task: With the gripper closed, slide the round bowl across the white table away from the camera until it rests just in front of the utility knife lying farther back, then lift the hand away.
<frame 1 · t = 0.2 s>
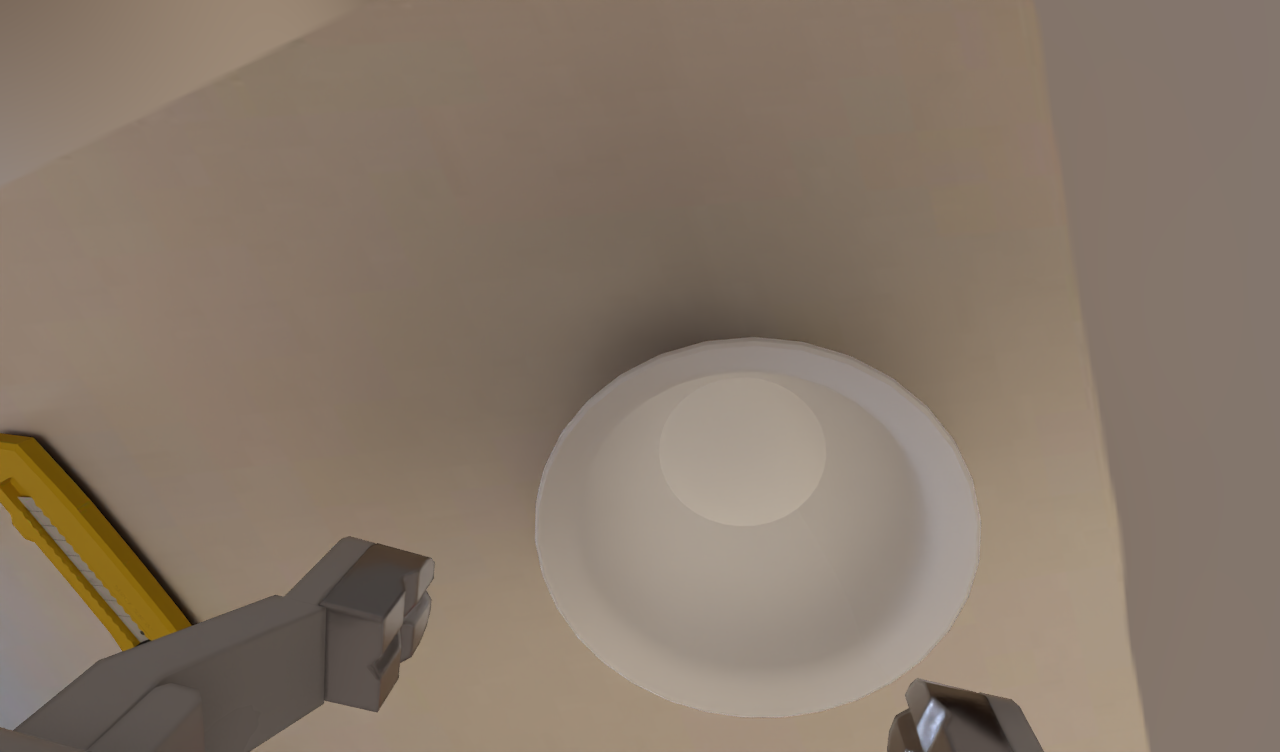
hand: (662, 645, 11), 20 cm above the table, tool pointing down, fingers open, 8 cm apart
utility knife: (124, 586, 39), on the table
bowl: (740, 445, 31), on the table
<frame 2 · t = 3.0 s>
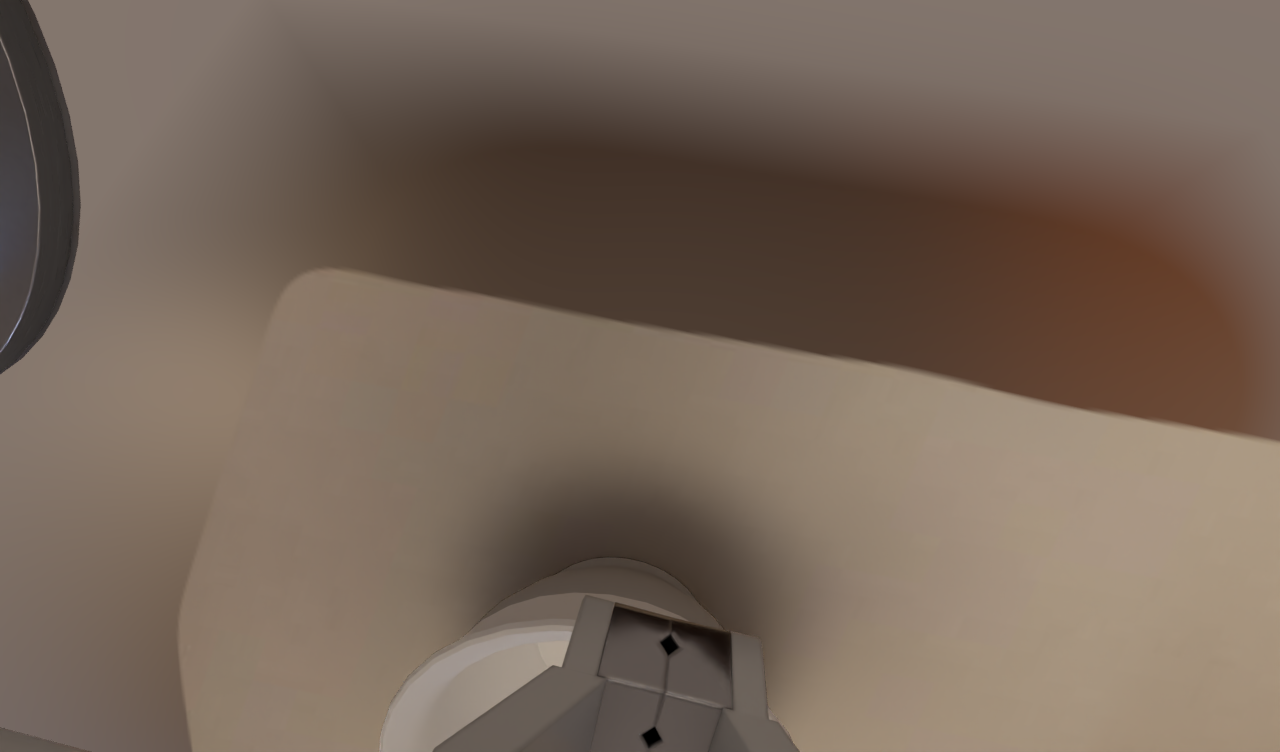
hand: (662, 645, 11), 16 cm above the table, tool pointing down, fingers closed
bowl: (619, 628, 31), on the table
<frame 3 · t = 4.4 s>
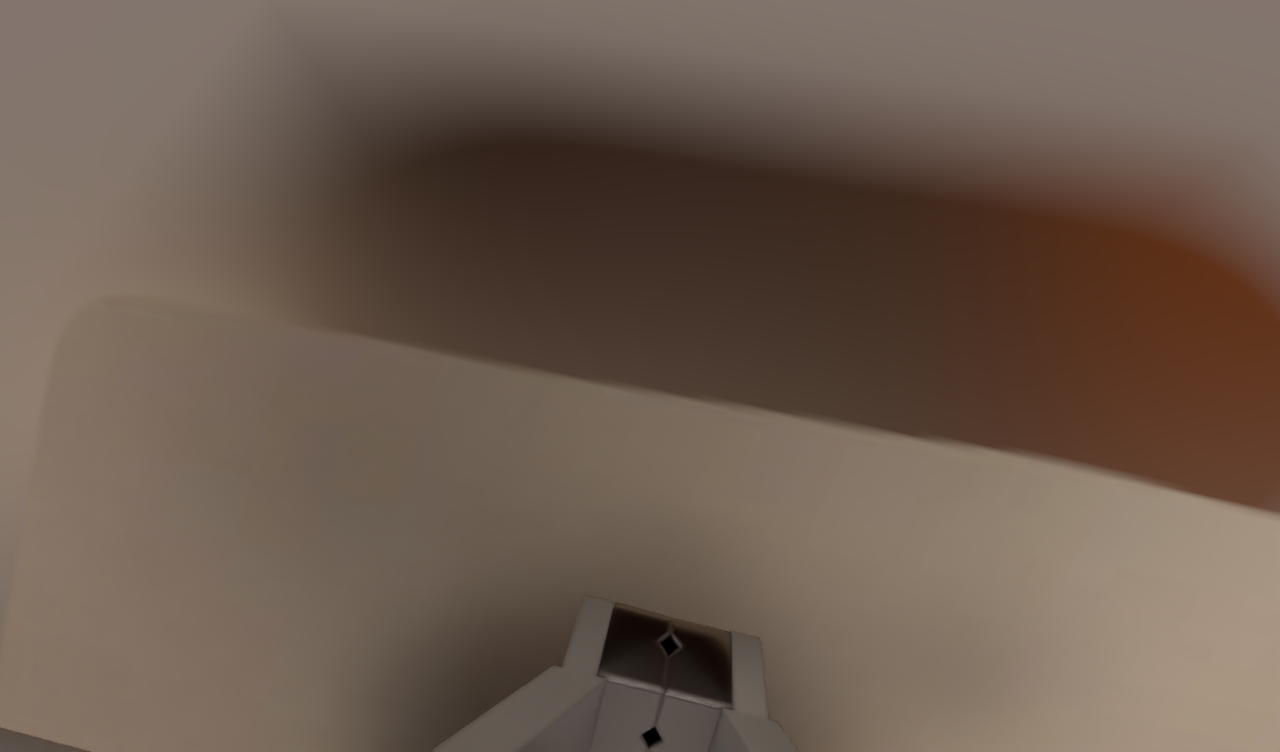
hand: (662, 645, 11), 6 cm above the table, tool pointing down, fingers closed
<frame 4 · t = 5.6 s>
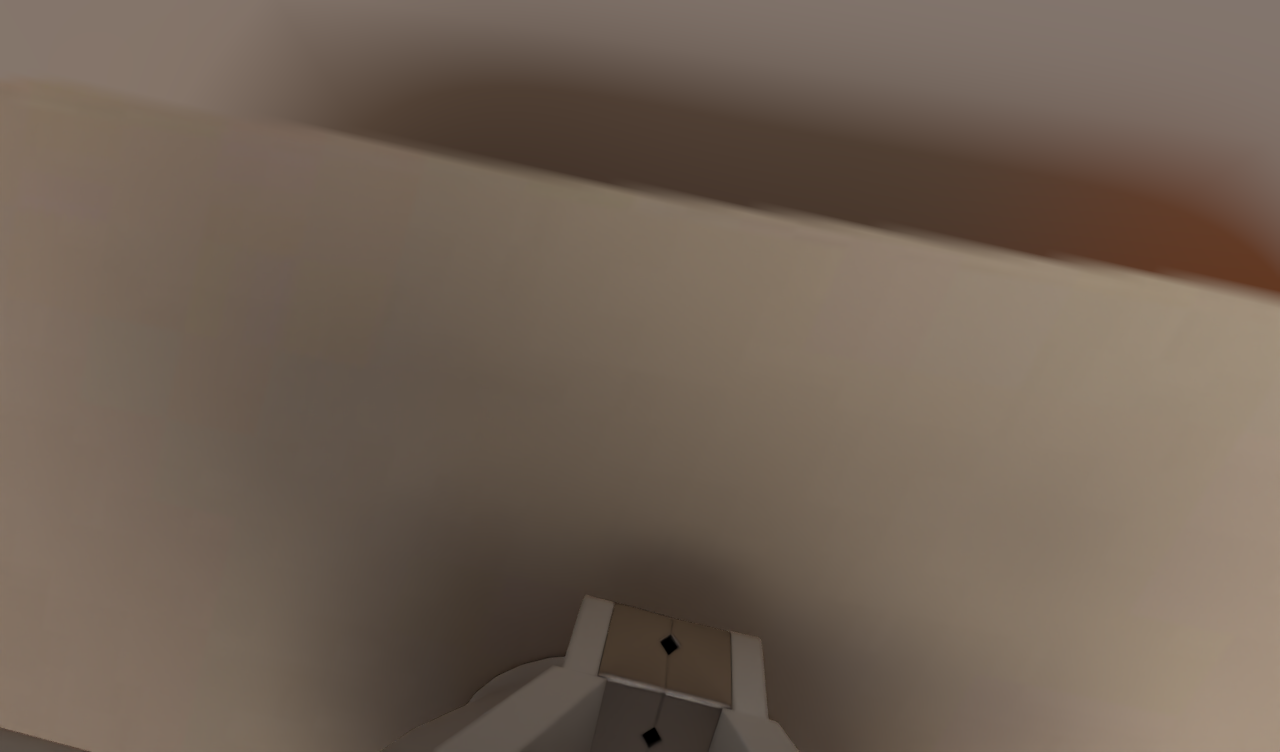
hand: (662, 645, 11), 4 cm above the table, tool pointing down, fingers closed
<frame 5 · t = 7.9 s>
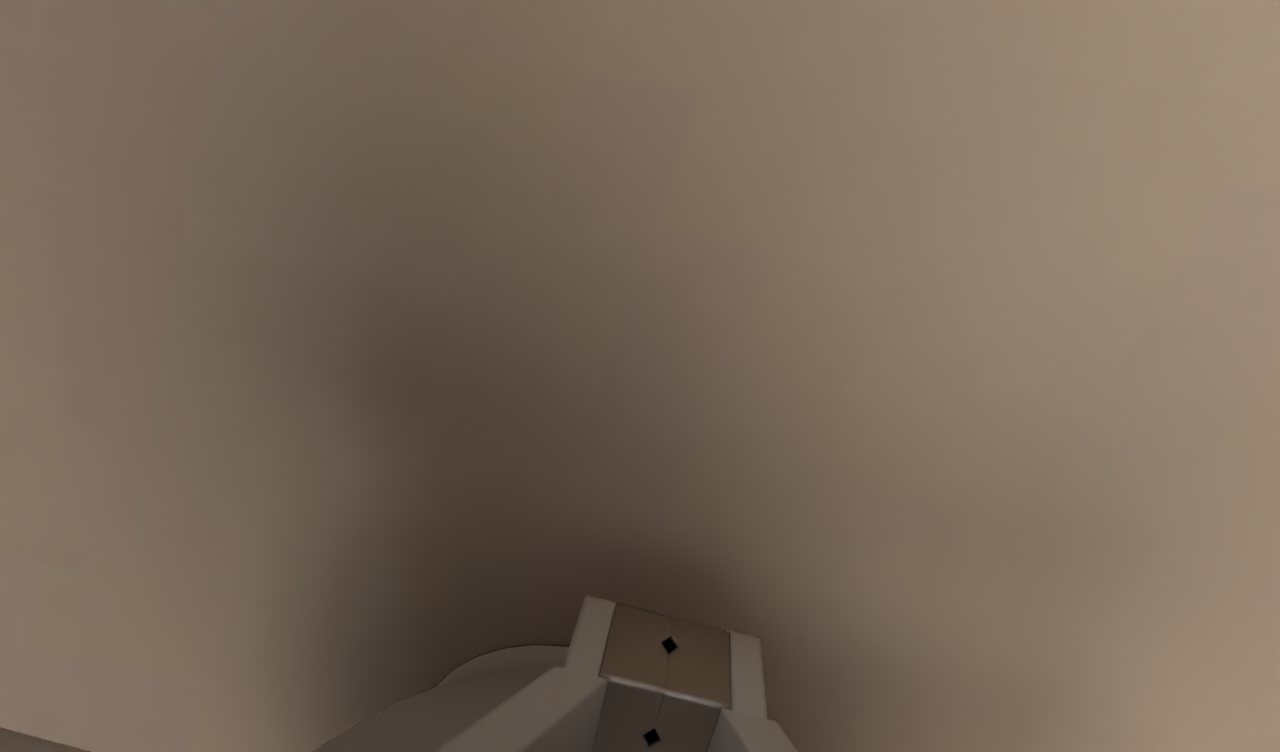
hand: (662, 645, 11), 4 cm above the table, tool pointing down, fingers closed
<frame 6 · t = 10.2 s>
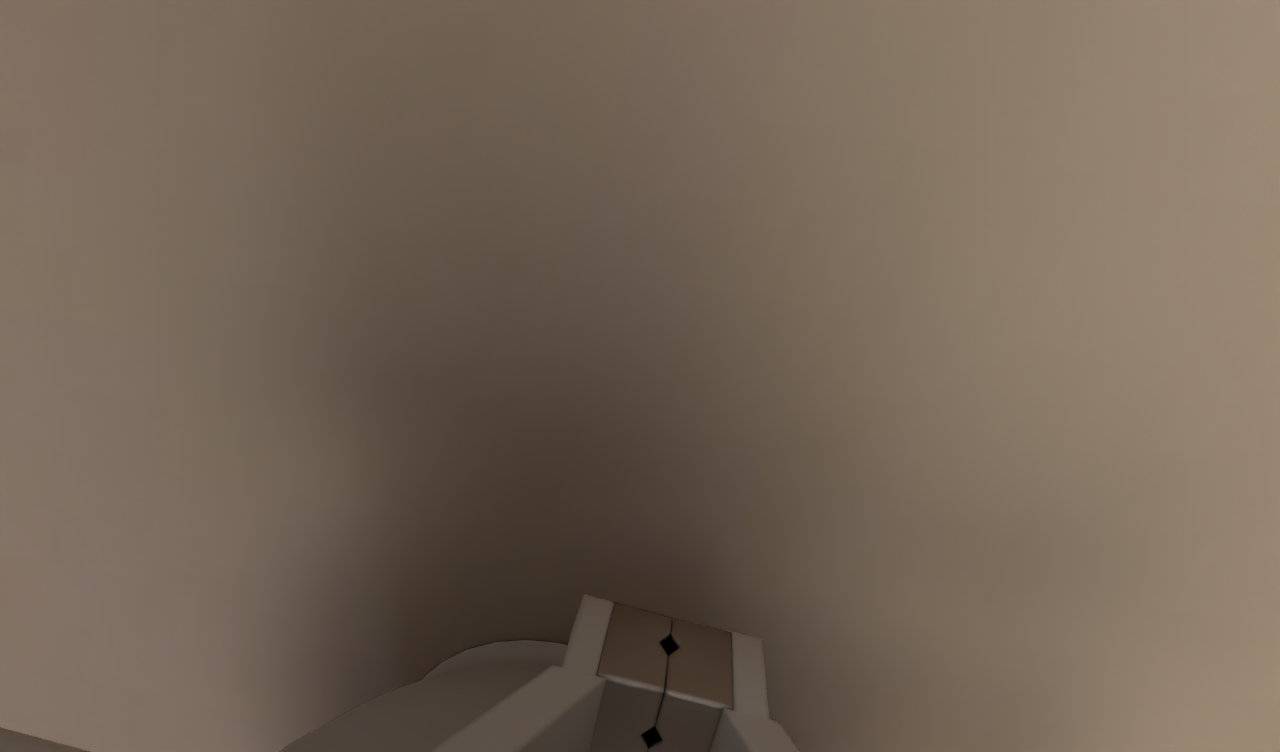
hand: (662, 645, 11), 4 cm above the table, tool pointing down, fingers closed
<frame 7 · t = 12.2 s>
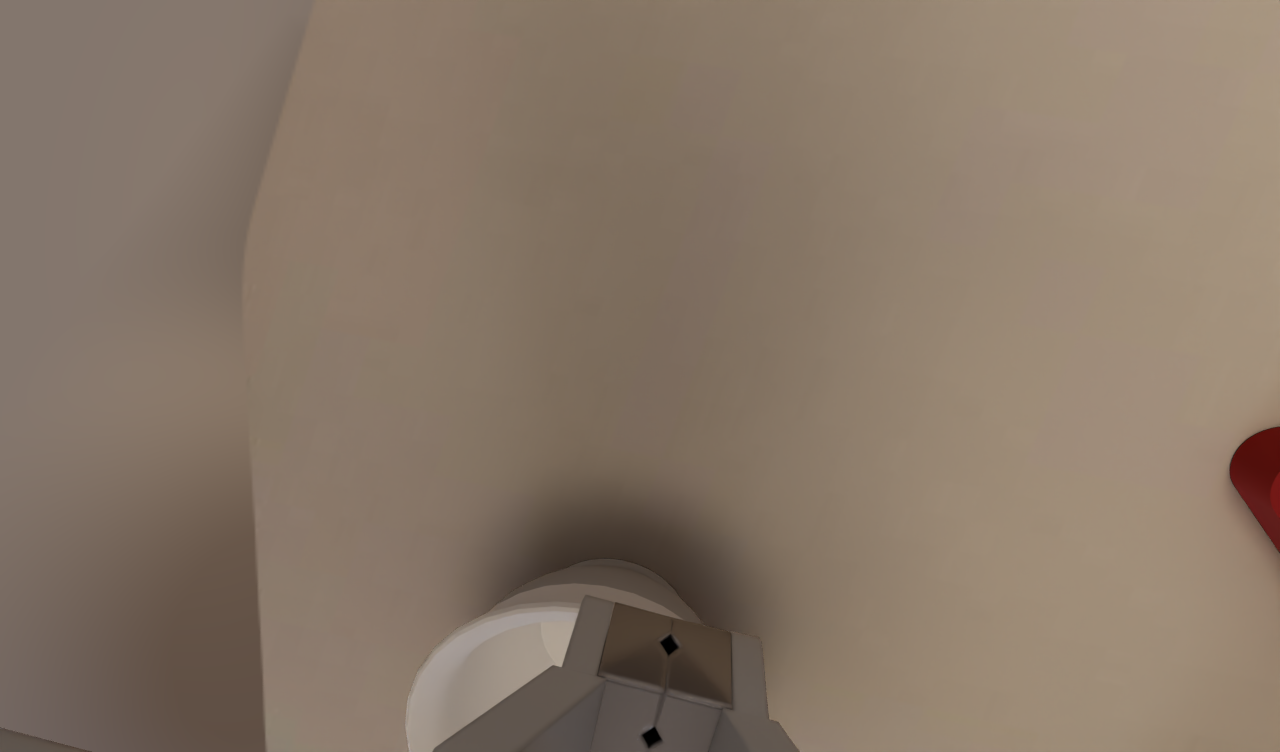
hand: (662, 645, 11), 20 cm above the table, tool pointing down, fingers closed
bowl: (613, 623, 35), on the table
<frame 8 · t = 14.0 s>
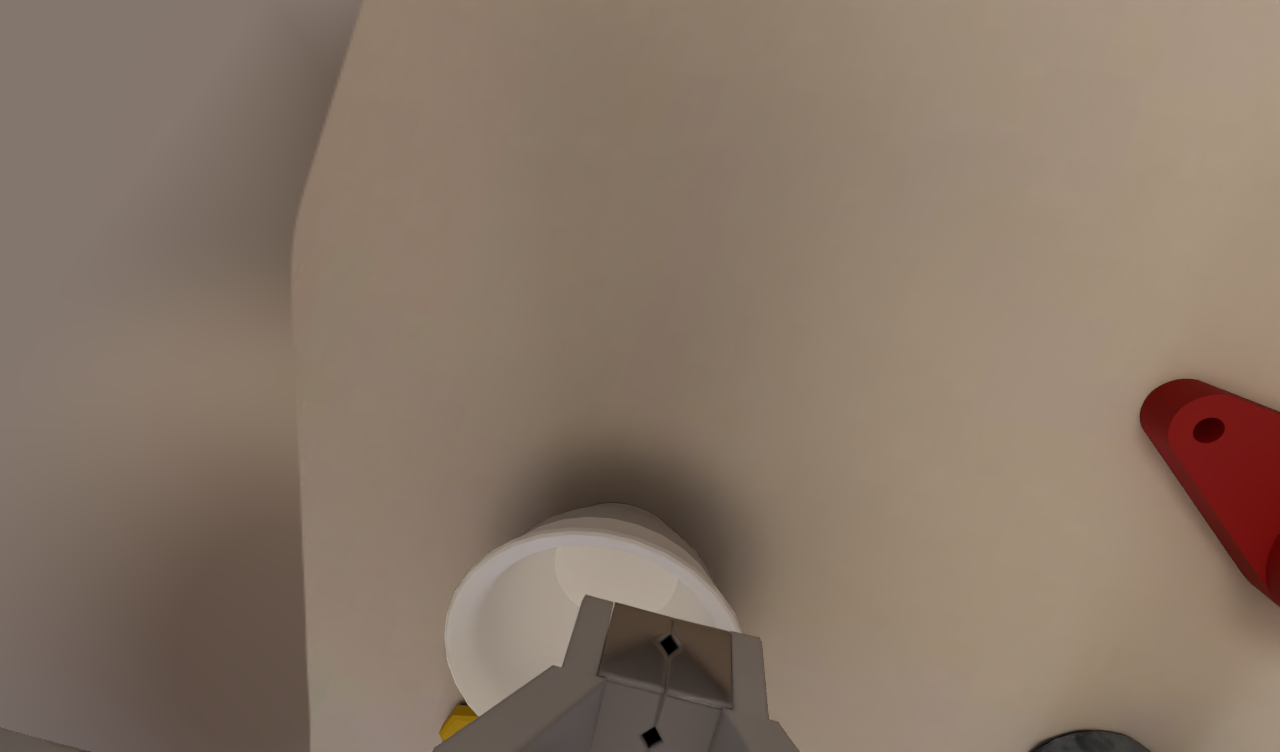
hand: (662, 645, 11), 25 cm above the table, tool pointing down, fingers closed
utility knife: (596, 746, 46), on the table
lever: (1273, 485, 34), on the table
bowl: (618, 560, 40), on the table
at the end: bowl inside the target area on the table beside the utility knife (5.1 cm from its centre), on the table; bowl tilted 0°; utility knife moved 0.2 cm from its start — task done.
